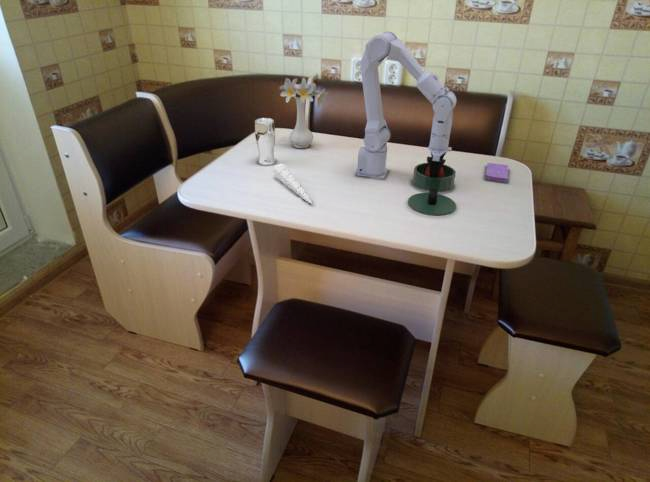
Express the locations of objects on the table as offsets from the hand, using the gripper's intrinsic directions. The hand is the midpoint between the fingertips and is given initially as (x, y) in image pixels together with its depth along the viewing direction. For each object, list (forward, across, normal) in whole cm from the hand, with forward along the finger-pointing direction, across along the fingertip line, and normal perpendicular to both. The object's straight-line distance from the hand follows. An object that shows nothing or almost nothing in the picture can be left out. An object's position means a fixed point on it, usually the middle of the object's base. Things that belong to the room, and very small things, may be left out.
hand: (434, 174), depth 146 cm
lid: (+3, -16, -1) cm, 16 cm away
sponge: (+4, +15, -20) cm, 26 cm away
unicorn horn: (+4, -17, +42) cm, 46 cm away
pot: (+4, 0, 0) cm, 4 cm away
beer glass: (+4, +1, +59) cm, 59 cm away
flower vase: (+4, +21, +52) cm, 56 cm away
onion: (+4, 0, 0) cm, 4 cm away
